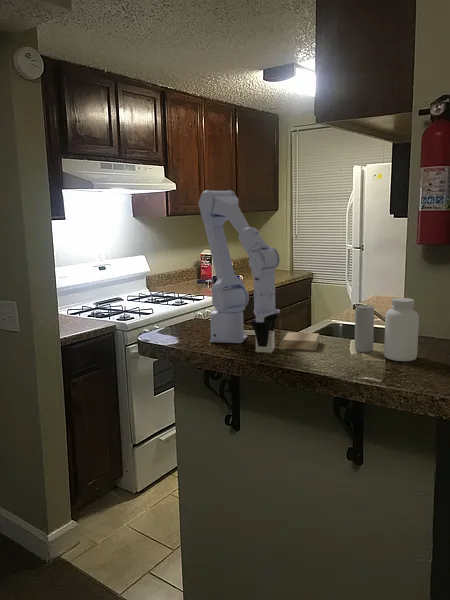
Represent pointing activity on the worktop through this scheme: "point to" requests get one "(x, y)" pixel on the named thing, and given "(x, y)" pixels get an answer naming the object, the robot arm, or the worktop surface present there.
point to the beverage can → (364, 328)
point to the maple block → (301, 341)
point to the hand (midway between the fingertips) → (265, 342)
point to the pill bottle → (401, 331)
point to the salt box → (270, 344)
